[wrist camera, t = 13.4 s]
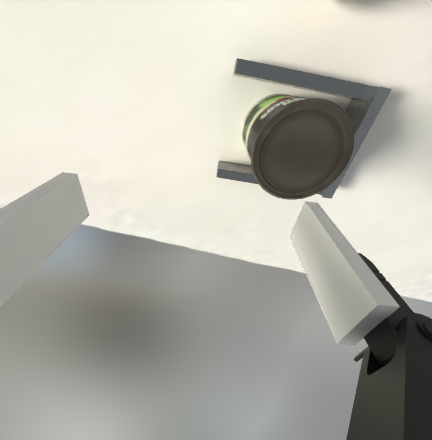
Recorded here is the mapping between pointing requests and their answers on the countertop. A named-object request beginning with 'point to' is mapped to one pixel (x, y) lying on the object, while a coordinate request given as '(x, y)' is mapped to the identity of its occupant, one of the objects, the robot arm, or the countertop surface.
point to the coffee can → (297, 144)
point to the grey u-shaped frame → (359, 93)
